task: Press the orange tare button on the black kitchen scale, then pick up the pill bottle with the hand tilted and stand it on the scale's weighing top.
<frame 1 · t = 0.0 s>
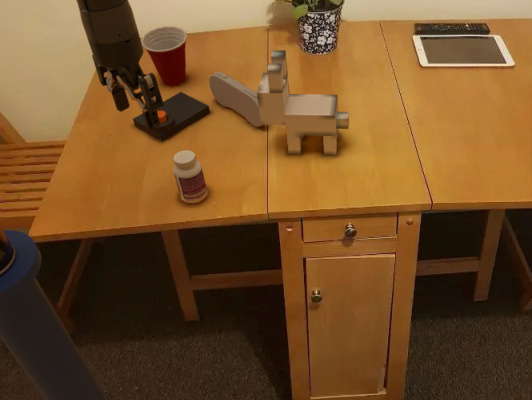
hand: (138, 117, 99), 20 cm above the table, tool pointing down, fingers open, 8 cm apart
toy llama: (308, 144, 125), on the table
tare button: (160, 117, 127), point 4 cm above the table, slide at 0.1 cm
scale: (172, 119, 134), on the table
game controller: (240, 114, 134), on the table
plastic cup: (174, 81, 146), on the table
pill bottle: (194, 195, 114), on the table
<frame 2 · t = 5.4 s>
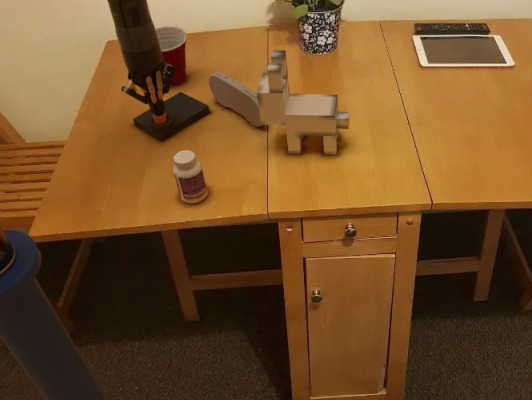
hand: (159, 113, 127), 5 cm above the table, tool pointing down, fingers closed
tare button: (160, 117, 127), point 4 cm above the table, slide at 0.1 cm, touching gripper
everything else where it was.
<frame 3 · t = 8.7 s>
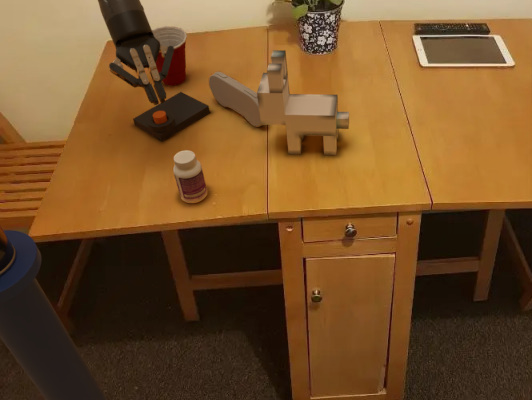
hand: (159, 102, 111), 15 cm above the table, tool tilted 45°, fingers closed
tare button: (160, 117, 127), point 4 cm above the table, slide at 0.1 cm
everything else where it was.
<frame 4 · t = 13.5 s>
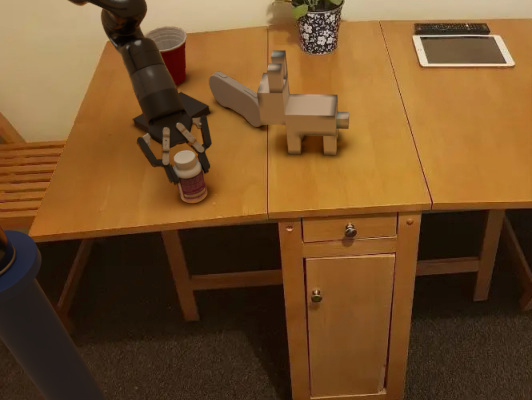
hand: (191, 178, 109), 6 cm above the table, tool tilted 45°, fingers closed on pill bottle, 5 cm apart
pill bottle: (194, 195, 114), on the table, touching gripper
everything else where it was.
when the fingers open (8 cm above the table, at t = 23.4 s): pill bottle stays where it is, resting on scale.
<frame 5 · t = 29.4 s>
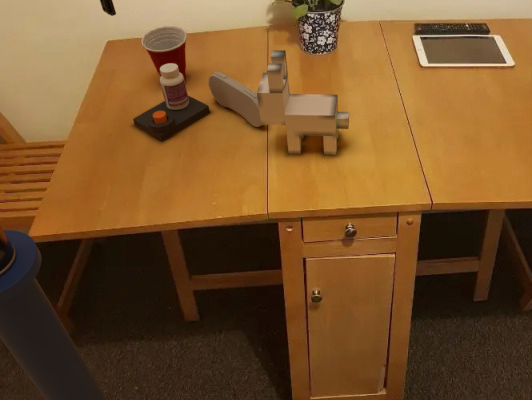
hand: (130, 5, 108), 30 cm above the table, tool pointing down, fingers open, 8 cm apart
pill bottle: (178, 105, 135), point 2 cm above the table, touching scale
everything else where it was.
at the end: tare button pushed in 0.9 cm at the most during the clip, back to where it started at the end; pill bottle inside the target area on the scale (0.7 cm from its centre), point 1.7 cm above the scale's base; pill bottle tilted 0° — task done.
